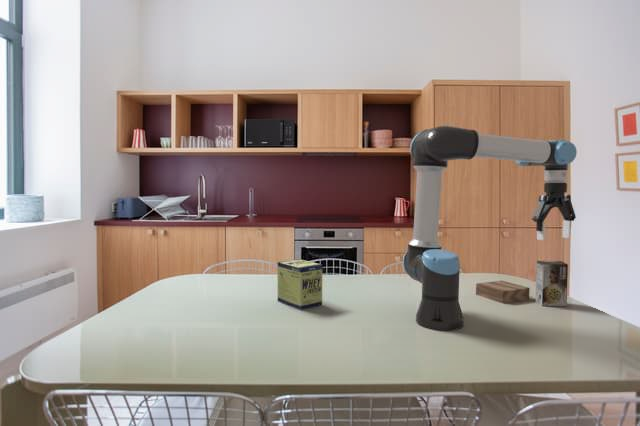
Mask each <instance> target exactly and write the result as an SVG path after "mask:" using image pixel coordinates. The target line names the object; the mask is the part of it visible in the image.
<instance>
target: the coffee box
mask: <svg viewBox="0 0 640 426" xmlns="http://www.w3.org/2000/svg"><path fill="white" fill-rule="evenodd" d="M568 268H569V264H568V263H565V262H564V261H562V260H536V280H535V281H536V283H535V303H536V304H538V305H540V306H541V307H567V306H568V277H569V275H568V272H569V271H568V270H569V269H568Z"/></svg>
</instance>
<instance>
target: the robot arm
mask: <svg viewBox="0 0 640 426" xmlns="http://www.w3.org/2000/svg"><path fill="white" fill-rule="evenodd" d="M409 146H410V147H409V152H410V155H411V157H412V158H413V169H414V170H415V171H416V173H417V174H416V187H415V188H416V189H415V203H414V204H415V205H414V218H413V219H414V221H413V230H412V231H413V233H412V239H411V240H410V241H409V242H408V244H407V250H406V251H405V252H404V255H403V257H402V267H403V270H404V271H405V273H406V274H407V276H409V277H410V279H412V280H414V281H417V282H419V283H420V284H421V300H420V303H419V304H418V305H419V306H418V309H417V312H416V313H415V322H416V323H417V324H418V325H419V326H421V327H424V328H427V329H430V330H431V329H432V330H438V331H453V330H459V329H461V328H463V327H464V324H465V319H464V318H465V317H464V316H463V312H462V307H461V304H460V301H459V297H460V295H459V294H460V292H459V291H460V269H461V265H460V257H459V256H458V255H457V253H455V252H453V251H450V250H445V249H442V244H441V243H440V242H439V240H438V239H439V224H440V223H439V222H440V211H441V196H442V186H443V185H442V182H443V173H444V172H445V171H446V170H447V169H448V162H449V161H453V160H468V161H469V160H470V161H471V160H473V159H474V158H482V159H493V160H503V161H514V162H515V164H516V166H517V165H518V167H519V166H520V167H521V166H522V167H544V176H543V179H544V184H543V186H544V187H543V192H544V193H545V194H544V195H543V194H542V195H541V194H540V195H539V198H538V202H537V204H536V205H537V206H536V208H535V210H534V213H533V215H532V218H531V220H532V221H533V222H535V223H536V240H539V241H545V240H546V239H545V238H546V222H544V221H545V220H546V218H547V217H548V215H549V214H550V211H552V209H554V208H558V210H559V212H560V214H561V216H562V218H563V219H564V220H562V233H561V235H562V236H561V238H565V239H571V228H572V222H574V221H575V219H576V218H577V217H576V213H575V210H574V206H573V204H572V197H571V194H565V193H567V191H568V183H567V181H568V170H569V169H568V168H569V164H570V163H573V162H574V161H575V159H576V157H577V153H578V152H577V151H578V150H577V147H576V146H575V144H574V143H573V142H571V141H568V140H566V139H552V140H551V139H550V140H541V139H531V138H521V137H512V136H503V135H494V134H484V133H479V131H477V130H476V129H469V128H463V127H458V126H449V125H440V126H439V125H438V126H435V127H432V128H428V129H423V130H422V131H420V132H418V133H417V134H416V135H415V136H413V138H412V140H411V142H410V145H409Z"/></svg>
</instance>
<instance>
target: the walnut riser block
mask: <svg viewBox="0 0 640 426" xmlns="http://www.w3.org/2000/svg"><path fill="white" fill-rule="evenodd" d="M475 295H476V296H479V297H482V298H484V299H488V300H491V301H494V302H498V303H500V304H508V303H514V302H521V301H527V300H530V287H527V286H525V285H520V284H516V283H512V282H509V281H505V280H496V281H495V280H494V281H487V282H479V283H476V284H475Z"/></svg>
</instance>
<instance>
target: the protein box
mask: <svg viewBox="0 0 640 426" xmlns="http://www.w3.org/2000/svg"><path fill="white" fill-rule="evenodd" d="M277 302H280V303H282V304H285V305H287V306H290V307H292V308H294V309H297V310H299V309H300V310H299V311H302V310H305V309H311V308H315V307H319V305H320V306H323V264H321V263H316V262H312V261H309V260H304V259H301V258H300V259H299V258H298V259H290V260H283V261H277Z"/></svg>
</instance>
